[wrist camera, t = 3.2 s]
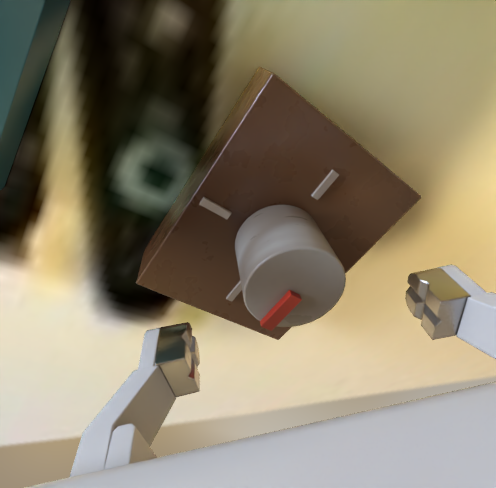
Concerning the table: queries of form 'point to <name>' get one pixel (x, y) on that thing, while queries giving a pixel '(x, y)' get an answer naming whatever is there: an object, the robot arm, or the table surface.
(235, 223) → the dial panel
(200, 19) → the table surface
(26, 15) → the button box
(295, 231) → the dial knob
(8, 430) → the table surface
